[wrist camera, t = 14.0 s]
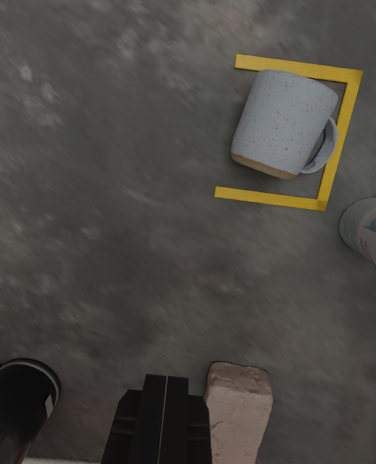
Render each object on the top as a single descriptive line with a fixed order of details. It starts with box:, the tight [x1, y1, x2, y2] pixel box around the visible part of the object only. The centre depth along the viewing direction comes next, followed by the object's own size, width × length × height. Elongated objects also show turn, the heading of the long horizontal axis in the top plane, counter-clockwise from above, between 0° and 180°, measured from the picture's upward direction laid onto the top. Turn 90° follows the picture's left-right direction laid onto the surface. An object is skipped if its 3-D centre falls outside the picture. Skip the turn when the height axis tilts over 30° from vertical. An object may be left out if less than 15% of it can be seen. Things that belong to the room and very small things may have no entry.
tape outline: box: [215, 54, 363, 211], centre depth 30 cm, size 13×14×1 cm
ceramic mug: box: [230, 69, 338, 180], centre depth 27 cm, size 11×8×8 cm
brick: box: [204, 362, 273, 464], centre depth 39 cm, size 17×8×5 cm, turn 172°
